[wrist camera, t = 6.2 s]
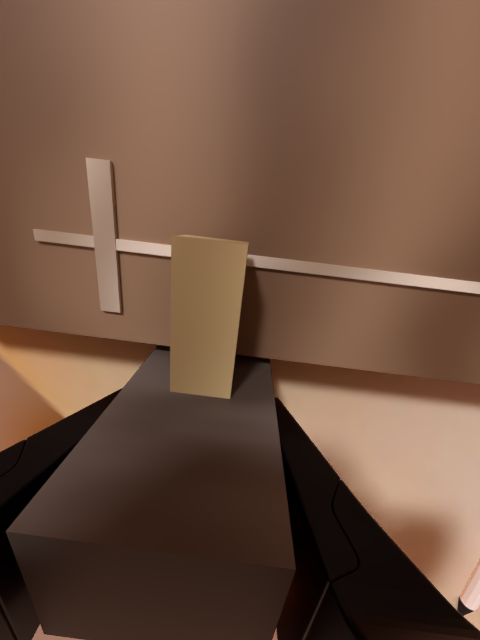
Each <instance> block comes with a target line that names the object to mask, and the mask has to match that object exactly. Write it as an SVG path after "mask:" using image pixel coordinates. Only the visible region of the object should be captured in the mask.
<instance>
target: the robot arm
mask: <svg viewBox="0 0 480 640" xmlns="http://www.w3.org/2000/svg"><path fill="white" fill-rule="evenodd" d="M122 389H123V388H122ZM122 389H120V390H118V391H116V392H114V393H112V394H110V395H108V396H106V397H104V398H103V399H101V400H99V401H97V402H95V403H93V404H91V405H89V406H87V407H85V408H83V409H82V410H80V411H78V412H76V413H74V414H72V415H70V416H68V417H66V418H64V419H63V420H61V421H59V422H57V423H55V424H53V425H51V426H49V427H47V428H45V429H43V430H42V431H40V432H38V433H36V434H34V435H32V436H30V437H28V438H27V440H22V441H20V442H19V443H17V444H15V445H13V446H11V447H9V448H7V449H5V450H3V451H1V452H0V640H32V638H33V636H34V634H35V632H36V630H37V628H38V627H39V625H40V622H39V619H38V616H37V614H36V611H35V608H34V606H33V603H32V600H31V598H30V595H29V592H28V590H27V587H26V584H25V582H24V579H23V576H22V574H21V571H20V568H19V566H18V563H17V560H16V558H15V555H14V552H13V550H12V547H11V544H10V542H9V539H8V537H7V534H6V530H7V529H8V528H9V527H10V526H11V524H12V523H13V522H14V521H15V519H16V518H17V517H18V516H19V515H20V513H21V512H22V511H23V510H24V508H25V507H26V506H27V505H28V504H29V502H30V501H31V500H32V499H33V497H34V496H35V495H36V494H37V493H38V491H39V490H40V489H41V488H42V486H43V485H44V484H45V483H46V482H47V480H48V479H49V478H50V477H51V475H52V474H53V473H54V472H55V471H56V469H57V468H58V467H59V466H60V464H61V463H62V462H63V461H64V460H65V458H66V457H67V456H68V455H69V453H70V452H71V451H72V450H73V449H74V447H75V446H76V445H77V444H78V442H79V441H80V440H81V439H82V438H83V436H84V435H85V434H86V433H87V431H88V430H89V429H90V428H91V427H92V425H93V424H94V423H95V422H96V420H97V419H98V418H99V417H100V416H101V414H102V413H103V412H104V411H105V409H106V408H107V407H108V406H109V405H110V403H111V402H112V401H113V400H114V398H115V397H116V396H117V395H118V394H119V392H120V391H121V390H122ZM274 398H275V406H276V414H277V422H278V430H279V438H280V446H281V454H282V462H283V470H284V478H285V486H286V494H287V502H288V510H289V518H290V526H291V534H292V542H293V550H294V558H295V566H296V571H295V574H294V577H293V580H292V583H291V586H290V588H289V591H288V594H287V597H286V600H285V603H284V606H283V609H282V612H281V615H280V618H279V621H278V624H277V626H276V628H277V638H278V640H480V631H479V630H478V629H477V628H476V627H475V626H474V625H472V624H471V623H470V622H469V621H468V620H467V619H466V618H465V617H463V616H462V615H461V614H460V613H459V612H458V611H457V610H456V609H455V608H454V607H453V606H452V605H451V604H450V603H449V602H448V601H447V600H446V598H445V597H444V596H443V595H442V594H441V593H440V592H439V591H438V590H437V589H436V588H435V586H434V585H433V584H432V583H431V582H430V581H429V580H428V579H427V578H426V577H425V575H424V574H423V573H422V572H421V571H420V570H419V569H418V568H417V567H416V566H415V564H414V563H413V562H412V561H411V560H410V559H409V558H408V557H407V556H406V555H405V553H404V552H403V551H402V550H401V549H400V548H399V547H398V546H397V545H396V543H395V542H394V541H393V540H392V539H391V538H390V537H389V536H388V535H387V534H386V532H385V531H384V530H383V529H382V528H381V527H380V526H379V524H378V523H377V522H376V521H375V520H374V519H373V518H372V516H371V515H370V514H369V513H368V512H367V511H366V509H365V508H364V507H363V506H362V504H361V503H360V502H359V501H358V500H357V498H356V497H355V496H354V495H353V493H352V492H351V491H350V490H349V488H348V487H347V486H346V484H345V483H344V482H343V481H342V480H340V477H339V476H338V474H337V473H336V472H335V470H334V469H333V468H332V467H331V465H330V464H329V463H328V461H327V460H326V459H325V458H324V456H323V455H322V454H321V452H320V451H319V450H318V449H317V447H316V446H315V445H314V443H313V442H312V441H311V440H310V438H309V437H308V436H307V434H306V433H305V432H304V431H303V429H302V428H301V427H300V425H299V424H298V423H297V422H296V420H295V419H294V418H293V416H292V415H291V414H290V413H289V411H288V410H287V409H286V407H285V406H284V405H283V404H282V402H281V401H280V400H279V398H277V397H274Z"/></svg>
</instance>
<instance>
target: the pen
mask: <svg viewBox="0 0 480 640" xmlns="http://www.w3.org/2000/svg"><path fill="white" fill-rule="evenodd" d="M479 606H480V559H479V561H478V563H477V565H476V567H475V569H474V570H473V572H472V574H471V576H470V578H469V580H468V582H467V583H466V585H465V587H464V589H463V591H462V593H461V595H460V596H459V605H458V612H459V613H460V614H461V615H462V616H464V615H466V614H468V613H471V612H473V611H475V610H477V609H478V607H479Z"/></svg>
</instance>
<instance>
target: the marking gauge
mask: <svg viewBox="0 0 480 640" xmlns="http://www.w3.org/2000/svg"><path fill="white" fill-rule="evenodd" d="M248 247H249V242H243V241H235V240H226V239H218V238H210V237H201V236H193V235H177V236H171V321H170V346H164V345H158V346H157V347H156V348H155V350H154V351H153V352H152V353H151V354H150V356H149V357H148V358H147V359H146V361H145V362H144V363H143V364H142V365H141V367H140V368H139V369H138V370H137V372H136V373H135V374H134V375H133V376H132V378H131V379H130V380H129V381H128V383H127V384H126V385H125V386H124V387H123V389H122V390H121V391H120V392H119V394H118V395H117V396H116V397H115V398H114V400H113V401H112V402H111V403H110V405H109V406H108V407H107V408H106V409H105V411H104V412H103V413H102V414H101V416H100V417H99V418H98V419H97V420H96V422H95V423H94V424H93V425H92V427H91V428H90V429H89V430H88V431H87V433H86V434H85V435H84V436H83V438H82V439H81V440H80V441H79V442H78V444H77V445H76V446H75V447H74V449H73V450H72V451H71V452H70V453H69V455H68V456H67V457H66V458H65V460H64V461H63V462H62V463H61V464H60V466H59V467H58V468H57V469H56V471H55V472H54V473H53V474H52V475H51V477H50V478H49V479H48V480H47V482H46V483H45V484H44V485H43V486H42V488H41V489H40V490H39V491H38V493H37V494H36V495H35V496H34V497H33V499H32V500H31V501H30V502H29V504H28V505H27V506H26V507H25V508H24V510H23V511H22V512H21V513H20V515H19V516H18V517H17V518H16V519H15V521H14V522H13V523H12V524H11V526H10V527H9V528H8V529H7V530H6V534H7V537H8V539H9V542H10V544H11V547H12V550H13V552H14V555H15V558H16V560H17V563H18V566H19V568H20V571H21V574H22V576H23V579H24V582H25V584H26V587H27V590H28V592H29V595H30V598H31V600H32V603H33V606H34V608H35V611H36V614H37V616H38V619H39V622H40V624H41V627H42V630H43V632H44V634H47V635H55V636H62V637H70V638H77V639H84V640H272V638H273V635H274V632H275V629H276V626H277V624H278V621H279V618H280V615H281V612H282V609H283V606H284V603H285V600H286V597H287V594H288V591H289V588H290V586H291V583H292V580H293V577H294V574H295V571H296V566H295V558H294V550H293V542H292V534H291V526H290V518H289V510H288V502H287V494H286V486H285V478H284V470H283V462H282V454H281V446H280V438H279V430H278V422H277V414H276V406H275V398H274V390H273V382H272V374H271V366H270V359H269V358H261V357H253V356H245V355H237V354H236V348H237V340H238V331H239V323H240V314H241V306H242V298H243V289H244V281H245V272H246V264H247V256H248Z"/></svg>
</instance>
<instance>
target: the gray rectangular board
mask: <svg viewBox="0 0 480 640" xmlns="http://www.w3.org/2000/svg"><path fill="white" fill-rule="evenodd" d="M177 235H193V236H201V237H210V238H218V239H226V240H235V241H243V242H249V247H248V256H247V264H246V272H245V281H244V289H243V298H242V306H241V314H240V323H239V331H238V340H237V348H236V354H237V355H245V356H253V357H261V358H269V359H277V360H285V361H293V362H301V363H310V364H318V365H326V366H334V367H342V368H350V369H358V370H366V371H374V372H382V373H390V374H398V375H406V376H415V377H423V378H431V379H439V380H447V381H455V382H463V383H471V384H479V385H480V0H0V325H3V326H11V327H19V328H27V329H35V330H43V331H51V332H59V333H67V334H75V335H83V336H92V337H100V338H108V339H116V340H124V341H132V342H140V343H148V344H156V345H164V346H170V321H171V236H177Z"/></svg>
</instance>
